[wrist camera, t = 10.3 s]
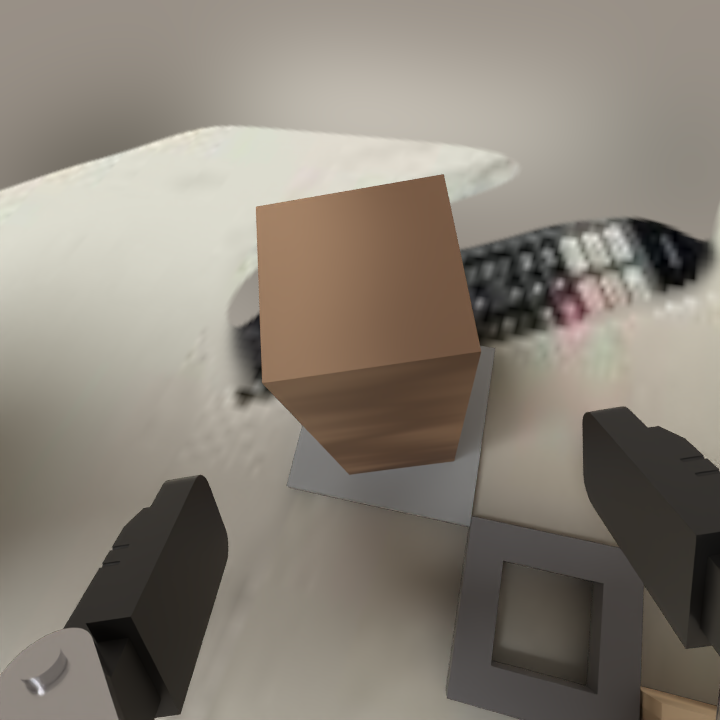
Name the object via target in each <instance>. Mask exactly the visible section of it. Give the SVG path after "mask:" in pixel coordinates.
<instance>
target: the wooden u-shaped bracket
mask: <svg viewBox="0 0 720 720" xmlns="http://www.w3.org/2000/svg"><path fill="white" fill-rule="evenodd" d="M716 711H717V706H715V705H711V704H707V703H703V702H700V701H696V700H692V699H688V698H684V697H681V696H677V695H673V694H669V693H665V692H661V691H658V690H654V689H650V688H646V687H642V686H640V717H639V720H716Z"/></svg>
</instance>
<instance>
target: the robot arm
mask: <svg viewBox="0 0 720 720" xmlns="http://www.w3.org/2000/svg"><path fill="white" fill-rule="evenodd" d="M583 475H584V483H585V487H586V491H587V494H588V497H589V499H590V502H591V504H592V505H593V507H594V509H595V510H596V512H597V513H598V515H599V516H600V518H601V519H602V521H603V522H604V524H605V526H606V527H607V529H608V530H609V532H610V533H611V535H612V536H613V538H614V539H615V541H616V542H617V544H618V545H619V547H620V549H621V550H622V552H623V553H624V555H625V556H626V558H627V559H628V561H629V562H630V564H631V565H632V567H633V568H634V570H635V572H636V573H637V575H638V576H639V578H640V579H641V581H642V582H643V584H644V585H645V587H646V588H647V590H648V591H649V593H650V595H651V596H652V598H653V599H654V601H655V602H656V604H657V605H658V607H659V608H660V610H661V611H662V613H663V615H664V616H665V618H666V619H667V621H668V622H669V624H670V625H671V627H672V628H673V630H674V631H675V633H676V634H677V636H678V638H679V639H680V641H681V642H682V644H683V645H684V647H685V648H686V649H689V648H696V647H704V646H711V645H712V646H713V647H714V648H715V650H716V651H717V653H718V654H719V656H720V472H719V469H718V468H717V467H716V466H715V465H714V464H713V463H711V462H710V461H709V460H708V459H704V457H703V454H701V453H700V452H699V451H698V450H697V449H696V448H695V447H694V446H693V445H691V444H690V443H689V442H688V441H687V440H686V439H685V438H683V437H681V436H678V435H676V434H674V433H672V432H670V431H668V430H666V429H663V428H661V427H659V426H656V427H650V428H648V427H647V426H646V425H644V424H643V423H642V422H641V421H640V420H639V419H638V418H637V417H636V416H635V415H634V414H633V413H632V412H631V411H630V410H629V409H628V408H626V407H616V408H610V409H604V410H598V411H592V412H587V413H585V414H584V416H583ZM112 547H113V550H111V551H109V553H108V555H107V556H106V558H105V560H104V561H103V563H102V564H103V567H102V568H99V570H98V572H97V573H96V575H95V577H94V578H93V580H92V582H91V583H90V585H89V587H88V588H87V590H86V592H85V593H84V595H83V597H82V598H81V600H80V602H79V603H78V605H77V607H76V608H75V610H74V612H73V613H72V615H71V617H70V618H69V620H68V622H67V623H66V625H65V627H64V628H63V629H62V630H59V631H55V632H53V633H51V634H48V635H46V636H44V637H43V638H41V639H39V640H37V641H36V642H34V643H33V644H31V645H30V646H29V647H27V648H26V649H25V650H23V651H22V652H21V653H20V654H19V655H18V656H17V657H16V658H15V659H14V660H13V661H12V662H11V663H10V664H9V665H8V666H7V667H6V669H5V670H4V671H3V673H2V674H1V676H0V720H154V719H155V718H157V717H164V716H172V715H179V714H181V711H182V707H183V704H184V701H185V697H186V694H187V691H188V687H189V684H190V681H191V678H192V674H193V671H194V668H195V664H196V661H197V658H198V655H199V651H200V648H201V645H202V641H203V638H204V635H205V632H206V628H207V625H208V622H209V618H210V615H211V612H212V608H213V605H214V602H215V599H216V595H217V592H218V589H219V585H220V582H221V579H222V576H223V572H224V569H225V566H226V562H227V558H228V537H227V533H226V529H225V526H224V524H223V521H222V518H221V516H220V513H219V510H218V507H217V505H216V502H215V499H214V497H213V494H212V491H211V488H210V486H209V483H208V481H207V479H206V478H205V477H204V476H202V475H198V476H192V477H186V478H179V479H173V480H168V481H166V482H165V483H164V484H163V485H162V487H161V489H160V491H159V493H158V494H157V496H156V498H155V500H154V502H153V503H152V505H151V507H148V508H143V509H142V510H141V511H140V512H139V513H138V514H137V515H136V516H135V517H134V518H133V519H132V520H131V521H130V522H129V523H128V524H127V525H126V526H124V528H123V530H122V531H121V533H120V535H119V536H118V538H117V540H116V541H115V543H114V545H113V546H112ZM716 720H720V686H719V694H718V703H717V711H716Z"/></svg>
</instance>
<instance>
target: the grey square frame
mask: <svg viewBox="0 0 720 720" xmlns="http://www.w3.org/2000/svg"><path fill="white" fill-rule="evenodd" d="M503 561H505V562H509V563H513V564H518V565H522V566H526V567H531V568H535V569H539V570H544V571H548V572H553V573H557V574H561V575H566V576H570V577H574V578H579V579H583V580H587V581H592V582H593V589H592V605H591V621H590V637H589V653H588V669H587V685H586V686H585V685H582V684H578V683H574V682H570V681H567V680H563V679H559V678H555V677H552V676H548V675H544V674H540V673H537V672H533V671H529V670H525V669H522V668H518V667H514V666H510V665H507V664H503V663H499V662H495V661H492V651H493V643H494V635H495V626H496V618H497V609H498V601H499V592H500V584H501V575H502V567H503ZM643 592H644V584H643V582H642V581H641V579H640V578H639V576H638V575H637V573H636V572H635V570H634V568H633V567H632V565H631V564H630V562H629V561H628V559H627V558H626V556H625V555H624V553H623V552H622V550H621V549H620V548H618V547H613V546H608V545H604V544H599V543H595V542H590V541H585V540H581V539H576V538H571V537H567V536H562V535H557V534H553V533H548V532H543V531H539V530H534V529H529V528H525V527H520V526H515V525H511V524H506V523H501V522H497V521H492V520H488V519H483V518H478V517H474V516H472V517H471V522H470V526H469V529H468V536H467V543H466V550H465V557H464V564H463V571H462V578H461V585H460V592H459V599H458V607H457V614H456V621H455V628H454V635H453V642H452V649H451V656H450V663H449V670H448V677H447V684H446V696H447V698H448V699H451V700H455V701H458V702H462V703H465V704H469V705H472V706H476V707H479V708H483V709H486V710H490V711H493V712H497V713H500V714H504V715H507V716H511V717H514V718H518V719H521V720H639V717H640V686H641V655H642V623H643Z"/></svg>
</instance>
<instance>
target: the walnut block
mask: <svg viewBox="0 0 720 720" xmlns="http://www.w3.org/2000/svg"><path fill="white" fill-rule="evenodd" d="M256 223H257V250H258V277H259V302H260V303H259V304H260V332H261V359H262V383H263V384H264V385H265V386H266V388H267V389H268V390H269V391H270V392H271V393H272V394H273V395H274V396H275V397H276V398H277V399H278V400H279V401H280V402H281V403H282V404H283V405H284V406H285V408H286V409H287V410H288V411H289V412H290V413H291V414H292V415H293V416H294V417H295V418H296V419H297V420H298V421H299V422H300V423H301V424H302V425H303V426H304V428H305V429H306V430H307V431H308V432H309V433H310V434H311V435H312V436H313V437H314V438H315V439H316V440H317V441H318V442H319V443H320V444H321V445H322V446H323V448H324V449H325V450H326V451H327V452H328V453H329V454H330V455H331V456H332V457H333V458H334V459H335V460H336V461H337V462H338V463H339V464H340V465H341V466H342V468H343V469H344V470H345V471H346V472H347V473H348V474H349V475H351V474H359V473H367V472H375V471H382V470H390V469H398V468H406V467H413V466H421V465H429V464H437V463H444V462H452V461H454V460H455V456H456V452H457V448H458V443H459V439H460V435H461V431H462V427H463V423H464V419H465V415H466V411H467V407H468V403H469V399H470V395H471V391H472V387H473V383H474V379H475V375H476V371H477V367H478V363H479V358H480V354H481V348H480V343H479V338H478V334H477V329H476V324H475V320H474V315H473V310H472V305H471V301H470V296H469V291H468V287H467V282H466V277H465V272H464V268H463V263H462V258H461V254H460V249H459V244H458V239H457V235H456V231H455V226H454V221H453V216H452V211H451V206H450V202H449V197H448V192H447V187H446V183H445V178H444V174H443V175H437V176H431V177H425V178H419V179H414V180H408V181H402V182H396V183H391V184H385V185H379V186H373V187H367V188H362V189H356V190H350V191H344V192H339V193H333V194H327V195H321V196H315V197H310V198H304V199H298V200H292V201H287V202H281V203H275V204H269V205H263V206H258V207H256Z"/></svg>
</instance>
